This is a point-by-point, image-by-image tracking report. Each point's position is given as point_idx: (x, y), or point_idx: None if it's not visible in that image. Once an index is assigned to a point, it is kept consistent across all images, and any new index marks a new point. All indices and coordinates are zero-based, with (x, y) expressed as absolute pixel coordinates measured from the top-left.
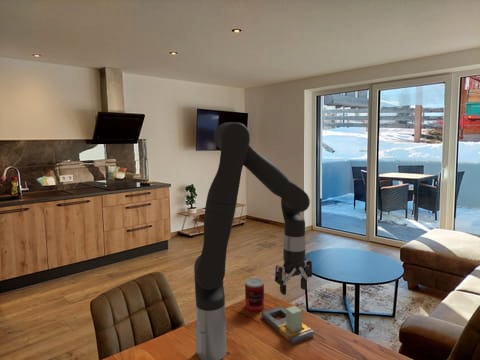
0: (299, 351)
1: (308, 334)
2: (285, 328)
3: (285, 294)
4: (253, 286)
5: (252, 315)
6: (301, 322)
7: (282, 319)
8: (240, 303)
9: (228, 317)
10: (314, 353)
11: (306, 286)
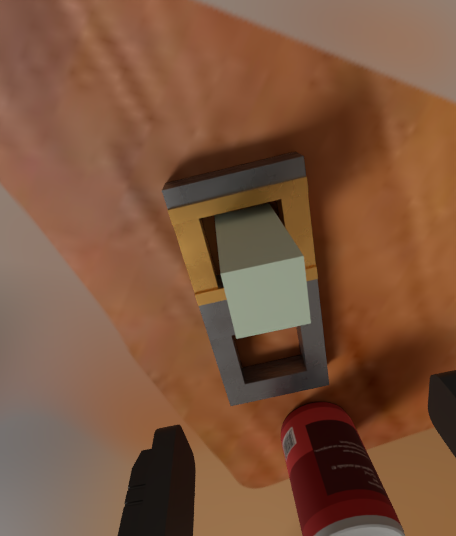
0: (290, 80)
1: (195, 180)
2: None
3: (447, 373)
4: (386, 523)
5: (350, 383)
6: (219, 239)
7: None
8: None
9: None
10: (221, 32)
11: (137, 464)
